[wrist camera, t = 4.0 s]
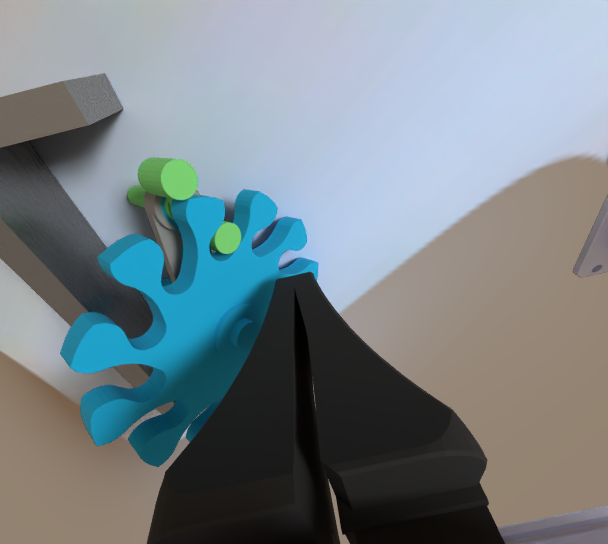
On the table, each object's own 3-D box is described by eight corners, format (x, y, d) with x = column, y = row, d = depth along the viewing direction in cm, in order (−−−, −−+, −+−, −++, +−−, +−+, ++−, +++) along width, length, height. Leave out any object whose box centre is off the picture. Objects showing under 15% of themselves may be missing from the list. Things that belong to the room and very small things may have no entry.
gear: (333, 352, 16) (163, 536, 10) (259, 315, 20) (97, 435, 13) (320, 130, 11) (-80, 220, 4) (221, 133, 14) (-86, 185, 8)
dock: (104, 73, 9) (50, 83, 7) (254, 363, 19) (253, 409, 16) (-32, 108, 9) (-132, 130, 7) (185, 378, 19) (174, 426, 16)
